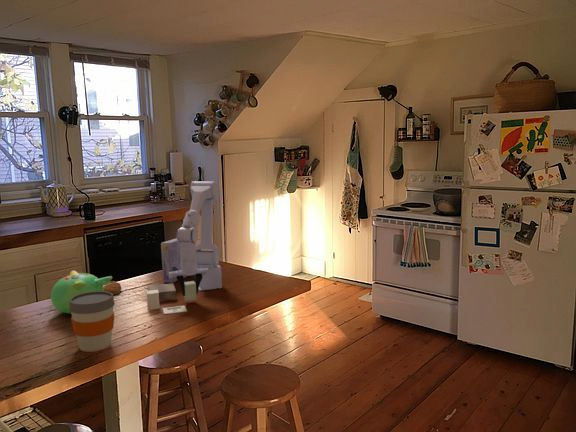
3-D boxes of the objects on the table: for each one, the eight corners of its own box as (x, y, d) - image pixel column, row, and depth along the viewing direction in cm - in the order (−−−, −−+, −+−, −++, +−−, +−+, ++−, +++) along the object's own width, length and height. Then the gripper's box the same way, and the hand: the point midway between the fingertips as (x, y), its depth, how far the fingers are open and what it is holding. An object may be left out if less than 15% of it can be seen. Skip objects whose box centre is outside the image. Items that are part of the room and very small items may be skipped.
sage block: (194, 296, 186) (194, 281, 186) (196, 299, 183) (195, 284, 182) (184, 297, 185) (183, 282, 184) (185, 300, 181) (184, 285, 180)
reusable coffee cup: (126, 340, 151) (123, 293, 148) (95, 357, 139) (91, 307, 137) (95, 334, 156) (91, 289, 153) (63, 350, 144) (58, 301, 142)
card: (184, 306, 181) (184, 305, 181) (187, 311, 175) (187, 310, 175) (162, 308, 178) (162, 308, 178) (164, 314, 172) (164, 313, 172)
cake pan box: (187, 271, 228) (185, 234, 225) (196, 272, 226) (194, 234, 223) (161, 283, 210) (159, 242, 207) (171, 284, 208) (169, 243, 205)
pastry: (124, 294, 196) (123, 285, 195) (106, 297, 193) (105, 288, 192) (119, 288, 204) (119, 279, 203) (102, 291, 201) (101, 282, 200)
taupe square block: (173, 292, 198) (173, 283, 197) (176, 300, 188) (175, 290, 188) (147, 295, 194) (147, 285, 194) (149, 303, 185) (148, 293, 185)
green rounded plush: (84, 301, 188) (81, 263, 186) (116, 307, 181) (114, 268, 178) (42, 316, 172) (38, 276, 170) (76, 324, 165) (73, 281, 162)
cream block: (158, 305, 182) (157, 289, 181) (159, 308, 179) (158, 292, 178) (147, 306, 181) (146, 290, 180) (148, 310, 177) (147, 294, 176)
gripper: (169, 263, 175) (171, 299, 178) (209, 259, 180) (211, 295, 182) (167, 259, 182) (169, 294, 184) (206, 255, 187) (207, 289, 189)
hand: (190, 294), depth 184 cm, fingers closed on sage block, 4 cm apart
